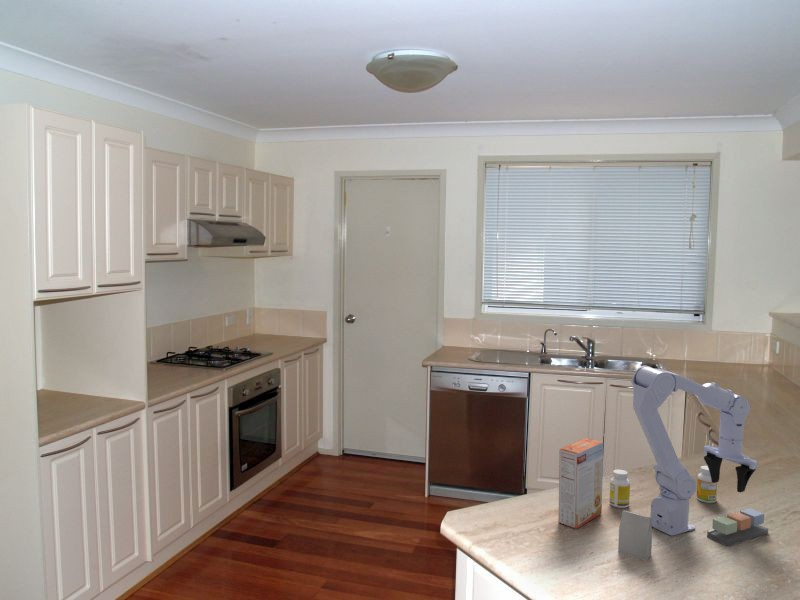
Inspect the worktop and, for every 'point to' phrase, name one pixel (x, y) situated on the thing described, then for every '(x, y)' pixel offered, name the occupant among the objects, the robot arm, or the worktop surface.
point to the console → (737, 535)
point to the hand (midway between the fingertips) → (727, 486)
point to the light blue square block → (754, 516)
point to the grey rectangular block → (635, 535)
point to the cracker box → (580, 482)
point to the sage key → (724, 525)
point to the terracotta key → (740, 520)
